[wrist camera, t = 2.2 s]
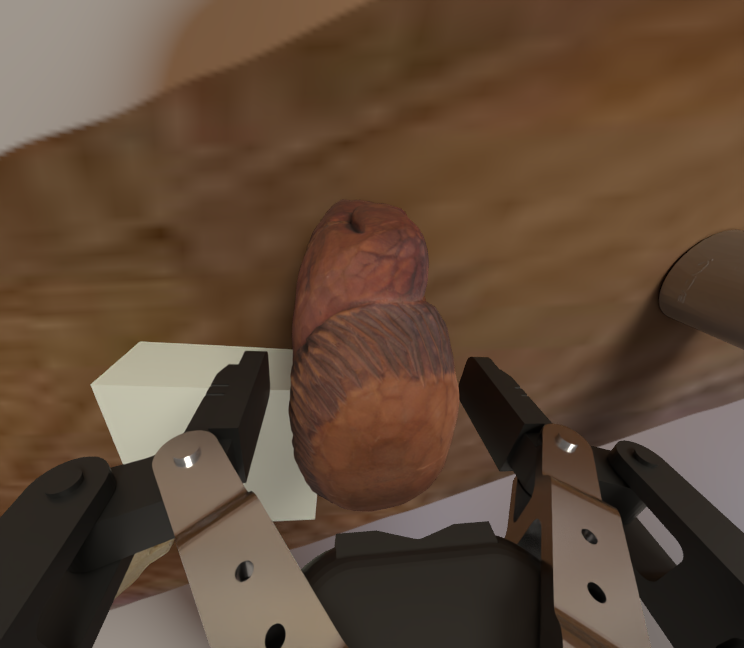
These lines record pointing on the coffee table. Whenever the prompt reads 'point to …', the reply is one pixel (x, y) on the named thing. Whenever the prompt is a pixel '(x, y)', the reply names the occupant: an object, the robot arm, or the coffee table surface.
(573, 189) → the coffee table surface
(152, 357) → the cream white square block
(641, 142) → the coffee table surface
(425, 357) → the wooden figurine
